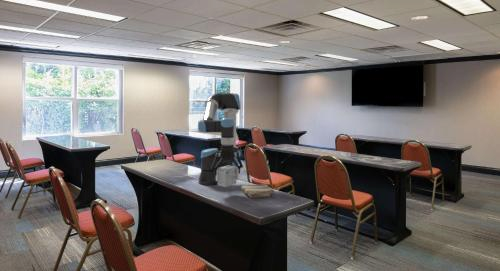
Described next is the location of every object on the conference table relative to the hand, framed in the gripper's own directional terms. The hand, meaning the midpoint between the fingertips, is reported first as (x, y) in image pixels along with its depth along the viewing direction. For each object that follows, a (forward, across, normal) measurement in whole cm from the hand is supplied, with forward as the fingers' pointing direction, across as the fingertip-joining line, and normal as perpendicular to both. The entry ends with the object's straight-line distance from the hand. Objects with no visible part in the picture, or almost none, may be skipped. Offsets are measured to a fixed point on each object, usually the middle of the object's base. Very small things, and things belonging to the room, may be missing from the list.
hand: (227, 179), depth 202 cm
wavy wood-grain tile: (+9, +18, -4) cm, 21 cm away
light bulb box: (+3, 0, 0) cm, 3 cm away
